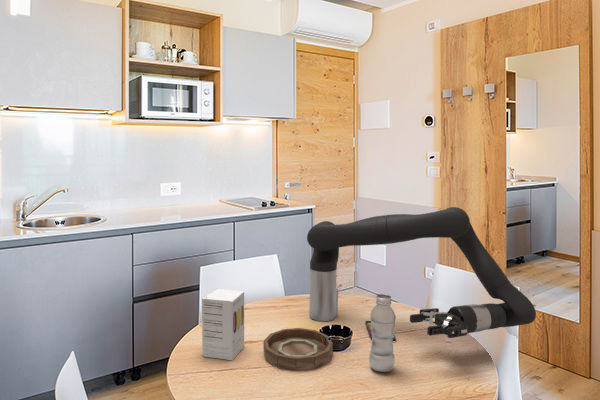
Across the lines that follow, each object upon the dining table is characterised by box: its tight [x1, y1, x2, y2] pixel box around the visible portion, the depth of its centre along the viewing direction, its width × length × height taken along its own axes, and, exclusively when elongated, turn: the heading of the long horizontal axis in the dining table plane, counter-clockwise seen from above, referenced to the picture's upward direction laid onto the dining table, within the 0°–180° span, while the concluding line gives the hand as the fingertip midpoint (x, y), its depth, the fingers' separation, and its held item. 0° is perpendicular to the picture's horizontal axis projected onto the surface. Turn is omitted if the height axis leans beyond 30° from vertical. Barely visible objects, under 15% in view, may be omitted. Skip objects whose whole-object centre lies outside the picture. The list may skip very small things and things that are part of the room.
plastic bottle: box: [368, 293, 397, 373], centre depth 113 cm, size 6×7×20 cm
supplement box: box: [201, 288, 245, 361], centre depth 122 cm, size 10×9×17 cm
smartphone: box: [365, 320, 397, 341], centre depth 138 cm, size 8×1×15 cm
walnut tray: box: [263, 327, 334, 372], centre depth 122 cm, size 19×19×4 cm
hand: (419, 324), depth 116 cm, fingers open, 8 cm apart
